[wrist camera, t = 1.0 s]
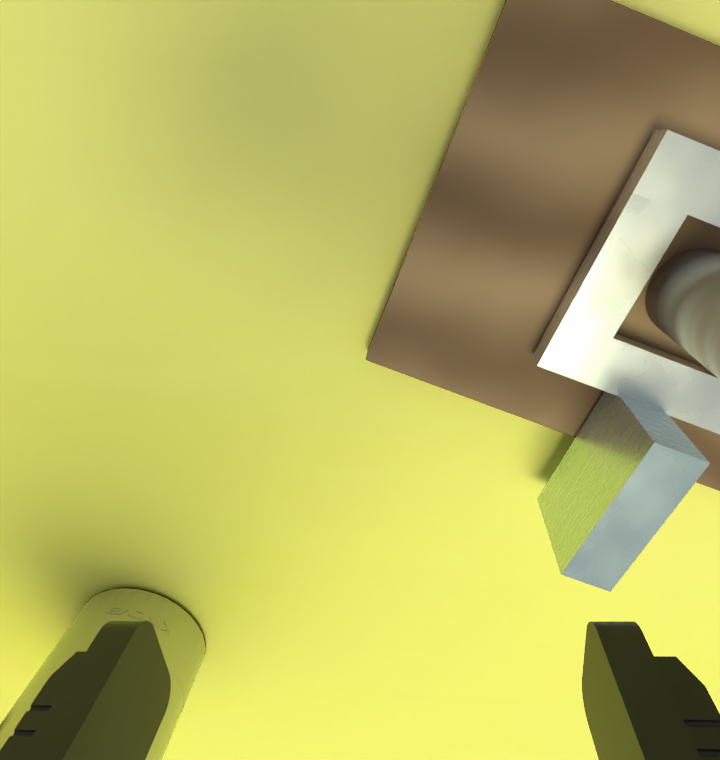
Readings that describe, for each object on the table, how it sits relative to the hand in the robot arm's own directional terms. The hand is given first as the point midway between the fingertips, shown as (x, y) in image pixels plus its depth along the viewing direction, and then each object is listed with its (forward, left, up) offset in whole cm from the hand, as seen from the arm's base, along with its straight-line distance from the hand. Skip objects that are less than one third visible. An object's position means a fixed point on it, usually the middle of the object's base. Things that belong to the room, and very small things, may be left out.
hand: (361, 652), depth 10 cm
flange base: (+6, -12, -19) cm, 23 cm away
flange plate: (+3, -12, -18) cm, 21 cm away
